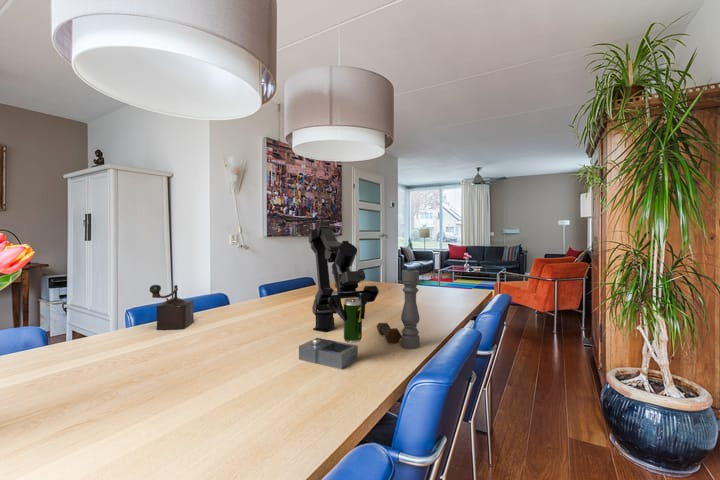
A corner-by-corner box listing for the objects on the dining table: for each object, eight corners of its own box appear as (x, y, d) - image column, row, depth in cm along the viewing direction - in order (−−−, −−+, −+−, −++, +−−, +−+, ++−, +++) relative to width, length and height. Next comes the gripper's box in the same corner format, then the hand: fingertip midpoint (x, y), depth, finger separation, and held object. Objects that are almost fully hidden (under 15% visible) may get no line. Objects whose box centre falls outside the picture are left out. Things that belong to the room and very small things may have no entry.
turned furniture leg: (420, 344, 116) (421, 270, 115) (417, 350, 110) (418, 272, 109) (402, 342, 118) (403, 269, 117) (398, 347, 112) (399, 271, 111)
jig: (298, 359, 102) (298, 342, 101) (317, 350, 109) (316, 334, 109) (341, 369, 94) (341, 351, 94) (357, 358, 102) (357, 342, 102)
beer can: (343, 343, 99) (343, 302, 99) (344, 337, 104) (344, 298, 104) (361, 343, 99) (361, 302, 99) (361, 337, 104) (362, 298, 104)
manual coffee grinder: (166, 323, 141) (166, 279, 141) (194, 322, 143) (194, 279, 142) (147, 334, 126) (146, 285, 126) (178, 333, 127) (178, 285, 127)
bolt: (382, 336, 131) (396, 347, 116) (371, 330, 130) (383, 341, 115) (389, 322, 131) (403, 332, 117) (378, 316, 130) (391, 325, 116)
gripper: (318, 261, 101) (328, 306, 91) (376, 259, 108) (391, 301, 98) (312, 283, 109) (321, 327, 99) (367, 281, 115) (380, 321, 106)
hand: (354, 319), depth 100 cm, fingers closed on beer can, 5 cm apart
